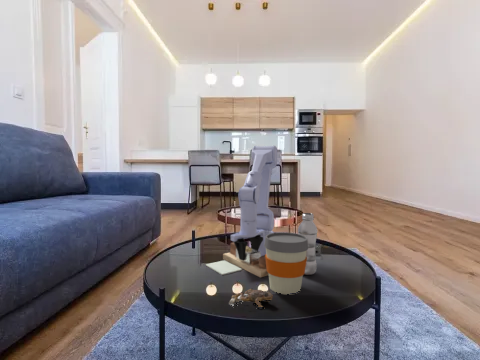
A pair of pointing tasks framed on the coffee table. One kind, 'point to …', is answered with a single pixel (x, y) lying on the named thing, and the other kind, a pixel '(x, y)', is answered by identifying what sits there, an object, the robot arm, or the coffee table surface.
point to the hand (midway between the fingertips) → (248, 258)
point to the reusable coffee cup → (285, 261)
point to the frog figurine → (252, 297)
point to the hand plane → (254, 268)
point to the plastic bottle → (309, 241)
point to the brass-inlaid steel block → (250, 255)
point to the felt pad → (223, 267)
